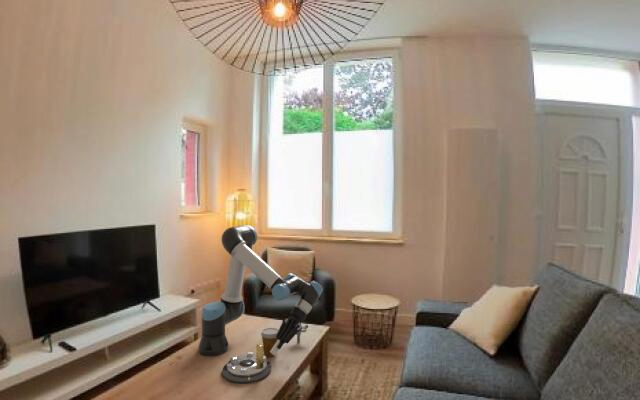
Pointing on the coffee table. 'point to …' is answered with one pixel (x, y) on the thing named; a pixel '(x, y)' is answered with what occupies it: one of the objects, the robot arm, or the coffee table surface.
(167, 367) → the coffee table surface
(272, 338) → the disposable coffee cup
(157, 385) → the coffee table surface
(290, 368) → the coffee table surface
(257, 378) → the base plate
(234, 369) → the lugged metal disc
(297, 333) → the mechanical component
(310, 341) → the coffee table surface
